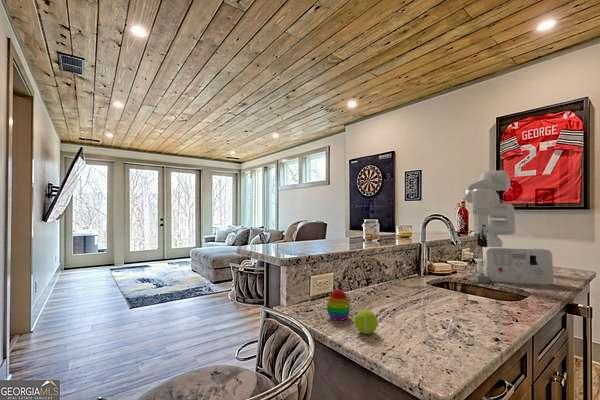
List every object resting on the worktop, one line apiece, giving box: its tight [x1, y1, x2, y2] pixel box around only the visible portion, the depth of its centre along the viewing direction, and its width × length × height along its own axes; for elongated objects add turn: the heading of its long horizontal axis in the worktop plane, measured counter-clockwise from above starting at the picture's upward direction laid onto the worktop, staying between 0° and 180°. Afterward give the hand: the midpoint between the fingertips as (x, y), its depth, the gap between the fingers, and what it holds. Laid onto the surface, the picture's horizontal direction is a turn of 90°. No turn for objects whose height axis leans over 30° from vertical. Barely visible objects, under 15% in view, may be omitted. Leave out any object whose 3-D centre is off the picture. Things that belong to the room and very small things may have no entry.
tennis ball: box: [354, 309, 378, 335], centre depth 90 cm, size 7×7×7 cm
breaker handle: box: [475, 258, 483, 276], centre depth 158 cm, size 3×2×9 cm
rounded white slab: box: [483, 246, 554, 286], centre depth 151 cm, size 29×8×18 cm, turn 69°
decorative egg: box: [326, 288, 351, 321], centre depth 103 cm, size 8×8×10 cm
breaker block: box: [471, 269, 490, 284], centre depth 158 cm, size 15×5×4 cm, turn 160°
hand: (482, 245), depth 151 cm, fingers open, 4 cm apart
